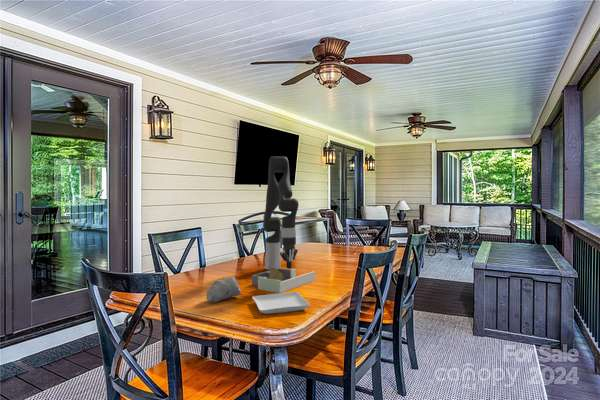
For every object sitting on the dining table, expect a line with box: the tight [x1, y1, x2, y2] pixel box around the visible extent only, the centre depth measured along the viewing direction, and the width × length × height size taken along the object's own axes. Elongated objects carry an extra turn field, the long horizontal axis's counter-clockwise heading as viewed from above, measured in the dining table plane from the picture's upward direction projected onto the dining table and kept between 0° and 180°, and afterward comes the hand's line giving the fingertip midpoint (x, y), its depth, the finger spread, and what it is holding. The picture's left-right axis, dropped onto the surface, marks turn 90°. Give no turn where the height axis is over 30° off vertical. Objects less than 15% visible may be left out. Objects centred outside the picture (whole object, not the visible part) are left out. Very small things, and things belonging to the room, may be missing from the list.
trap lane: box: [251, 267, 316, 294], centre depth 204 cm, size 23×31×6 cm
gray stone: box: [205, 276, 242, 304], centre depth 174 cm, size 16×15×10 cm
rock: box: [269, 268, 286, 281], centre depth 196 cm, size 11×9×10 cm
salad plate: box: [251, 291, 310, 315], centre depth 162 cm, size 21×21×3 cm
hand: (289, 268), depth 202 cm, fingers closed
